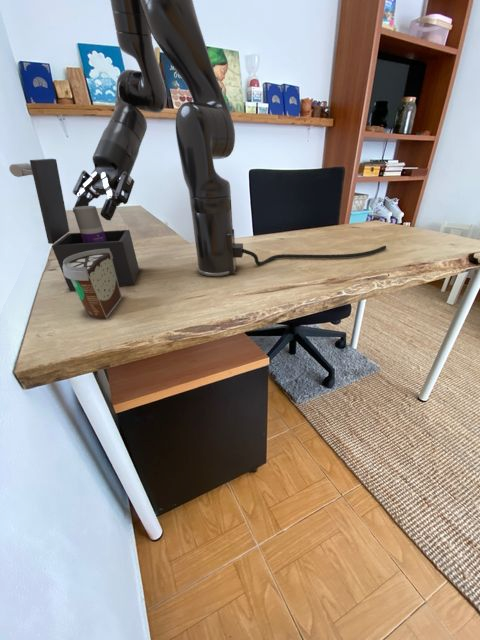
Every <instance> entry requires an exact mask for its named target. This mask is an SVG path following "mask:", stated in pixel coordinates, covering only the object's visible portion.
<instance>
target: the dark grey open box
mask: <svg viewBox="0 0 480 640" xmlns="http://www.w3.org/2000/svg"><path fill="white" fill-rule="evenodd" d="M104 234H105V237H106V241H107V242H95V243H84V242H83V239H82V236H81V233H80V232H68V233H67V234H65V235H64V236H63V237H61V238H60V239H59V240H57V241H56V242H55V243H53V244H52V245H51V248H52V251H53V253H54V255H55V259H56V260H57V263H58V266H59V268H60V271H61V273H62V276H63V277H64V280H65V283H66V285H67V288H68V291H69V292H76V289H75V287H74V285H73V283H72V281H71V279H68V278H66V277H65V276H64V273H63V261H64V259H66V258H67V257H69V256H72V255H74V254H77V253H81V252H85V251H90V250H97V249H110V251H111V254H112V256H113V259H112V261H113V265H114V268H115V272H116V276H117V280H118V284H119V287H130V286H135V283H136V280H137V277H138V273H139V270H140V267H139V263H138V259H137V255H136V251H135V248H134V243H133V239H132V235H131V230H130V229H119V230H117V229H116V230H104Z"/></svg>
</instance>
